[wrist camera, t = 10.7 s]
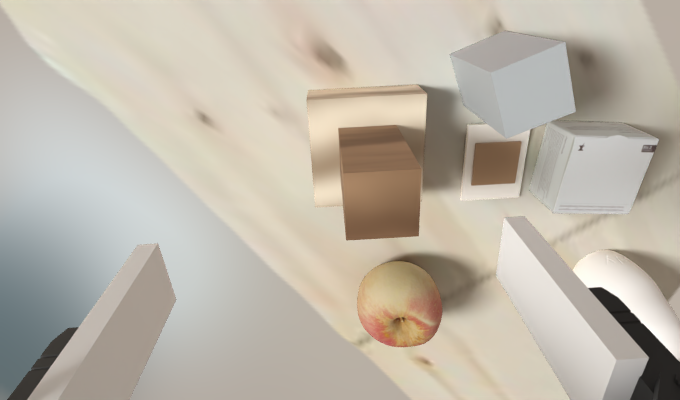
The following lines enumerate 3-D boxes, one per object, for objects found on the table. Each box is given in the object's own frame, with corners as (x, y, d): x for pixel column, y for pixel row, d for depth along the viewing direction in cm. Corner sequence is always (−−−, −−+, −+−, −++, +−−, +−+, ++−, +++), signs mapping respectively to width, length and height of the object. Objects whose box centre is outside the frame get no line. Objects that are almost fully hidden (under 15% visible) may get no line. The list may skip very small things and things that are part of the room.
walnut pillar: (338, 127, 35) (343, 173, 26) (396, 124, 35) (421, 168, 26) (340, 181, 37) (346, 240, 28) (395, 178, 37) (418, 236, 28)
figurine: (554, 294, 49) (618, 378, 38) (583, 242, 46) (662, 317, 35) (606, 302, 50) (684, 386, 39) (639, 251, 47) (733, 327, 36)
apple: (433, 301, 49) (452, 353, 42) (360, 313, 49) (367, 367, 42) (426, 240, 45) (446, 286, 38) (348, 255, 45) (352, 303, 38)
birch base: (308, 90, 37) (306, 100, 34) (417, 84, 37) (427, 93, 34) (316, 189, 42) (315, 207, 38) (413, 183, 42) (421, 201, 38)
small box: (526, 191, 43) (550, 214, 38) (546, 118, 39) (575, 134, 35) (597, 193, 43) (630, 216, 39) (623, 120, 40) (663, 137, 35)
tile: (467, 124, 39) (469, 126, 38) (529, 120, 39) (533, 123, 38) (460, 198, 43) (462, 201, 42) (516, 195, 43) (520, 198, 42)
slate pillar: (449, 54, 36) (490, 72, 27) (504, 30, 36) (565, 41, 27) (463, 105, 38) (506, 138, 29) (515, 84, 38) (575, 111, 29)
